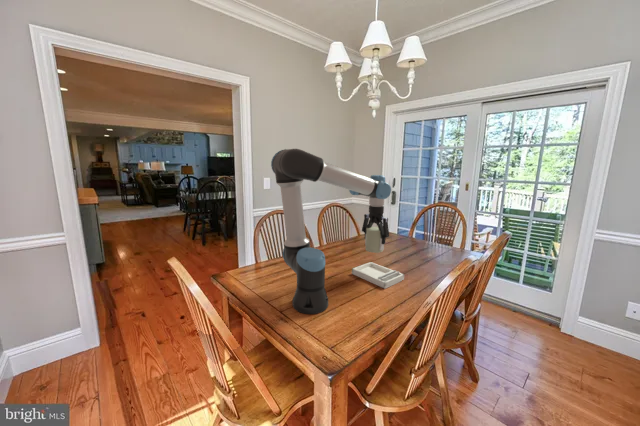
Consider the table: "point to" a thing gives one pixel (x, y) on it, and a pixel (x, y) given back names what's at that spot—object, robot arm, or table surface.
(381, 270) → the rack
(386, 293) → the table surface
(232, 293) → the table surface
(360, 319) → the table surface
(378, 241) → the can
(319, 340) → the table surface
